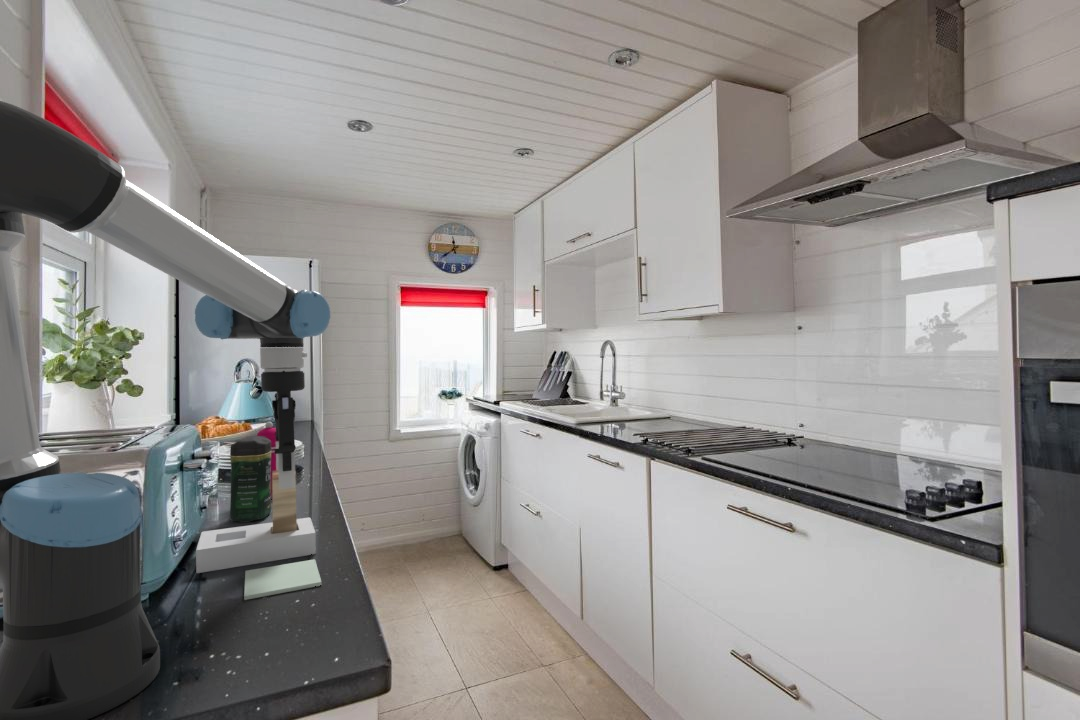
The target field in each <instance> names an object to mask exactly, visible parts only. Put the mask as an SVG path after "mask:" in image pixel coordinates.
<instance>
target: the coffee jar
mask: <svg viewBox="0 0 1080 720" xmlns="http://www.w3.org/2000/svg"><path fill="white" fill-rule="evenodd" d="M229 455H230V456H229V457H230V504H229V505H230V507H229V513H230V514H229V517H230V520H231V521H233V522H240V523H250V522H252V521H256V520H263V519H264V518H266V517H267V516H268V515H269V514H270V513H271V512H272V510H273V509H272V500H271V441H270V440H269V439H268V438H266V437H265V436H257V435H252V436H251V435H250V436H247V437H246V438H242V439H239V440H238V441H235V442H234V443H232V444H231V445H230V453H229Z"/></svg>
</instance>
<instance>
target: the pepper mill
mask: <svg viewBox="0 0 1080 720" xmlns="http://www.w3.org/2000/svg"><path fill="white" fill-rule="evenodd" d="M275 432H276V427H274V424H273V422H272V421H267V422H266V423H265V427H264V428H262V429H260V430H259V431H258V432H257V434H256V436H265V437H266V438H268V439H269V440H270V441H271V499H272V471H276V454H275V449H276V442H277V441H276V439H275V437H276V435H275Z"/></svg>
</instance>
